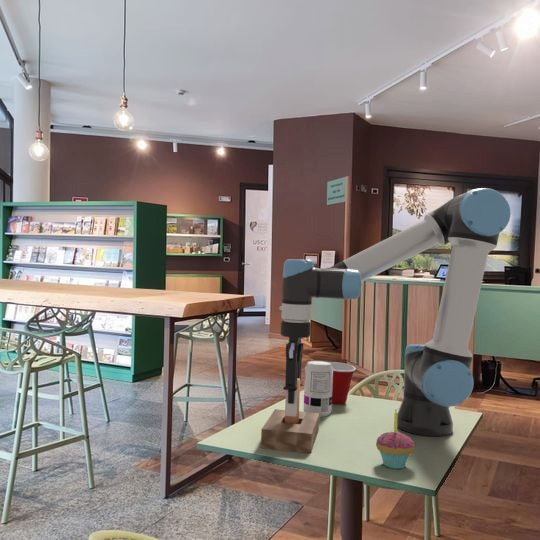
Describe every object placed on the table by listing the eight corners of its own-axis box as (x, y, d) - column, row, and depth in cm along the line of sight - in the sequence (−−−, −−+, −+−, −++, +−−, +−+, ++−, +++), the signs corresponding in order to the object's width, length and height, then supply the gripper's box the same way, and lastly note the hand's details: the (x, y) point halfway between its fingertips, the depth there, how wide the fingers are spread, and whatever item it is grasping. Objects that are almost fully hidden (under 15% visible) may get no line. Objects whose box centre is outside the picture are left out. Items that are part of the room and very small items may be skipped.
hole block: (318, 430, 144) (319, 413, 144) (311, 453, 126) (311, 433, 126) (274, 425, 146) (274, 409, 146) (260, 447, 129) (261, 428, 128)
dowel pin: (299, 433, 138) (301, 378, 137) (297, 437, 134) (299, 381, 134) (285, 431, 138) (287, 377, 138) (283, 435, 135) (285, 379, 135)
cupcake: (373, 456, 126) (375, 405, 125) (411, 459, 125) (413, 407, 124) (377, 470, 117) (379, 415, 117) (417, 473, 116) (419, 418, 116)
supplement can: (297, 413, 160) (299, 362, 159) (314, 408, 166) (316, 359, 166) (320, 419, 154) (322, 366, 154) (336, 413, 161) (338, 363, 160)
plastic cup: (341, 408, 166) (342, 369, 166) (313, 401, 174) (315, 364, 174) (361, 403, 174) (362, 365, 174) (334, 396, 182) (335, 360, 181)
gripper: (286, 316, 145) (282, 404, 145) (275, 323, 129) (271, 421, 129) (314, 318, 143) (310, 406, 144) (306, 325, 127) (302, 424, 127)
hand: (292, 413), depth 136 cm, fingers closed on dowel pin, 3 cm apart
